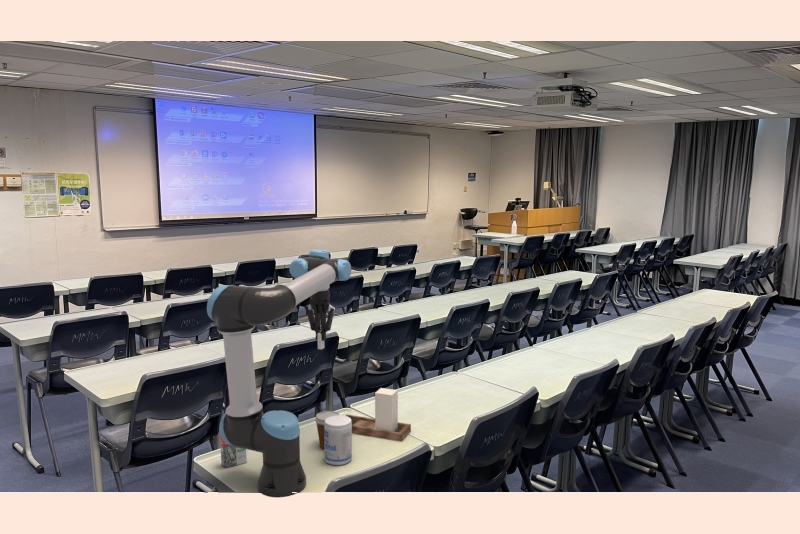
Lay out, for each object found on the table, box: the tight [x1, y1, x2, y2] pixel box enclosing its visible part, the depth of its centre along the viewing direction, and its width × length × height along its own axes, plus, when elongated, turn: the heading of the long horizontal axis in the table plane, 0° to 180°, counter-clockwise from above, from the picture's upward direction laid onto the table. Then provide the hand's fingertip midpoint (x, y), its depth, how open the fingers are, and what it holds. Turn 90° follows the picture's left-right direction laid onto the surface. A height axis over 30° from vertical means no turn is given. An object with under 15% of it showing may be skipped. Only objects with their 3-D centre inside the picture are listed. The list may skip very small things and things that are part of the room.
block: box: [374, 387, 399, 432], centre depth 225 cm, size 7×6×15 cm
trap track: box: [344, 414, 412, 442], centre depth 228 cm, size 28×10×3 cm, turn 69°
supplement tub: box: [323, 414, 353, 466], centre depth 203 cm, size 10×10×15 cm
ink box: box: [219, 436, 248, 469], centre depth 200 cm, size 4×8×15 cm, turn 124°
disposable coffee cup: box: [314, 410, 341, 450], centre depth 214 cm, size 10×10×12 cm
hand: (321, 348), depth 228 cm, fingers closed
